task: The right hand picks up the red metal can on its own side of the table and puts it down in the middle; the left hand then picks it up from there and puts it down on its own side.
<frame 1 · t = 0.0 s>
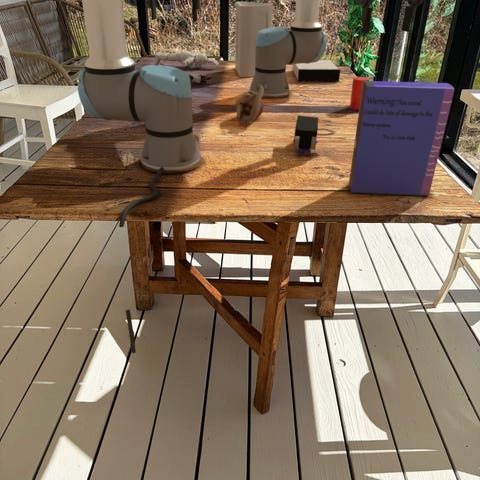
left hand: (174, 20, 152), 28 cm above the table, tool pointing down, fingers open, 13 cm apart
right hand: (385, 32, 136), 28 cm above the table, tool pointing down, fingers open, 13 cm apart
can: (357, 108, 170), on the table
brown lumpy shape: (248, 120, 155), on the table
figurine character: (304, 149, 133), on the table
figurine: (175, 84, 196), on the table
tall cream pillar: (253, 72, 218), on the table
toy: (187, 67, 226), on the table
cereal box: (387, 190, 111), on the table
disc drive: (314, 76, 213), on the table
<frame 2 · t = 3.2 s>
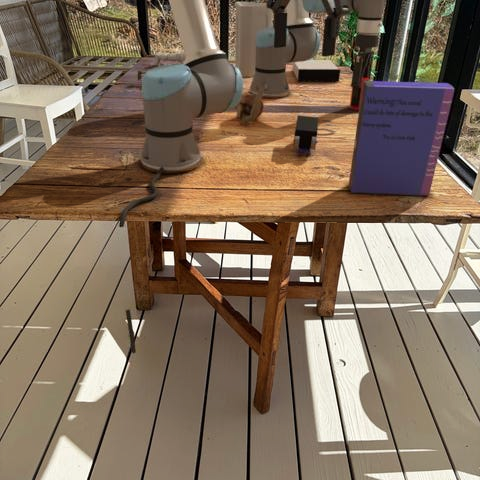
left hand: (302, 51, 96), 30 cm above the table, tool pointing down, fingers open, 13 cm apart
right hand: (357, 104, 169), 1 cm above the table, tool pointing down, fingers closed on can, 5 cm apart
can: (357, 108, 170), on the table, touching right hand
everything else where it was.
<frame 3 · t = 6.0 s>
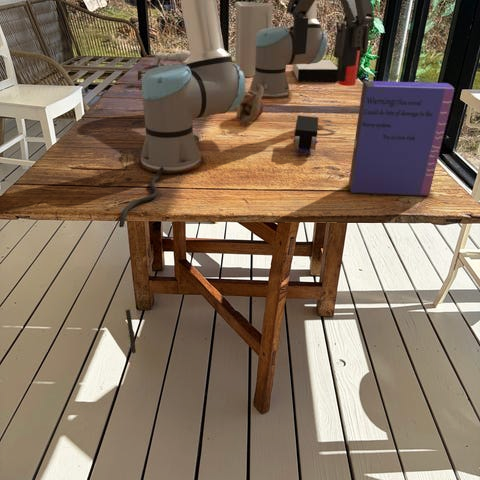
left hand: (322, 59, 90), 30 cm above the table, tool pointing down, fingers open, 13 cm apart
right hand: (347, 79, 153), 13 cm above the table, tool pointing down, fingers closed on can, 5 cm apart
can: (346, 83, 153), point 11 cm above the table, touching right hand
everything else where it was.
when the right hand's fingers open (3 cm above the table, at t = 8.8 s): can drops 1 cm, on the table.
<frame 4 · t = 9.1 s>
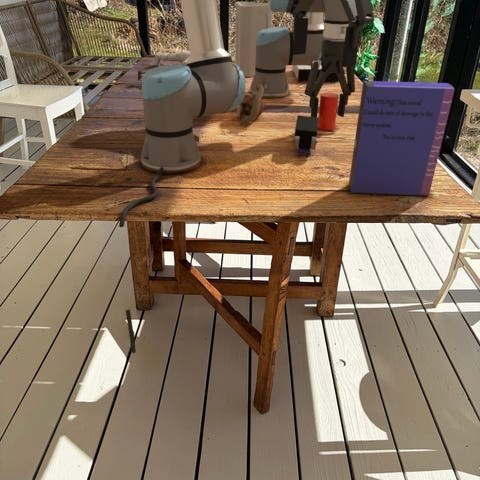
left hand: (322, 59, 90), 30 cm above the table, tool pointing down, fingers open, 13 cm apart
right hand: (327, 117, 148), 3 cm above the table, tool pointing down, fingers open, 9 cm apart
can: (326, 127, 150), on the table
everything else where it was.
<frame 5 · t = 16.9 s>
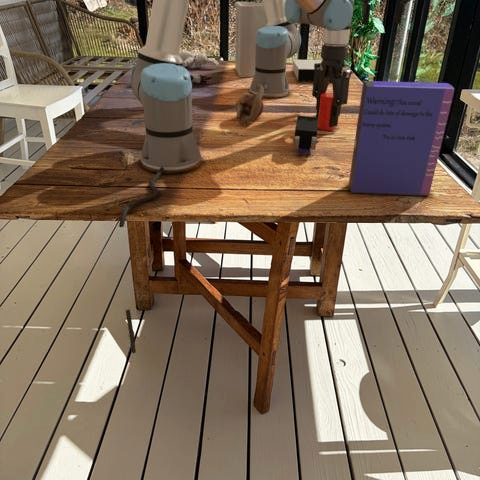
left hand: (326, 123, 149), 1 cm above the table, tool pointing down, fingers closed on can, 5 cm apart
right hand: (381, 24, 171), 26 cm above the table, tool pointing down, fingers open, 13 cm apart
can: (326, 127, 150), on the table, touching left hand
everything else where it was.
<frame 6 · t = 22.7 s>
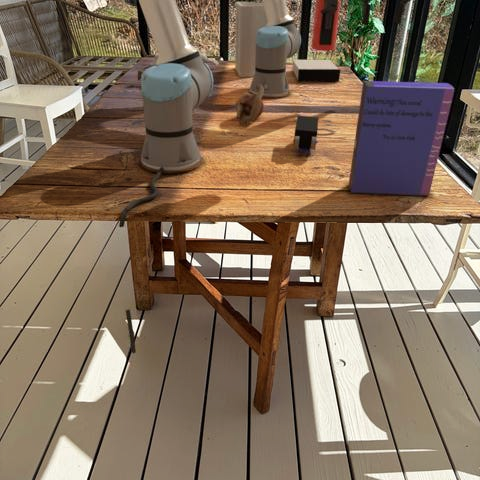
left hand: (323, 42, 112), 29 cm above the table, tool pointing down, fingers closed on can, 5 cm apart
right hand: (381, 24, 171), 26 cm above the table, tool pointing down, fingers open, 13 cm apart
can: (322, 48, 113), point 28 cm above the table, touching left hand
everything else where it was.
when the left hand's fingers open (3 cm above the table, at t = 28.7 s): can drops 1 cm, on the table.
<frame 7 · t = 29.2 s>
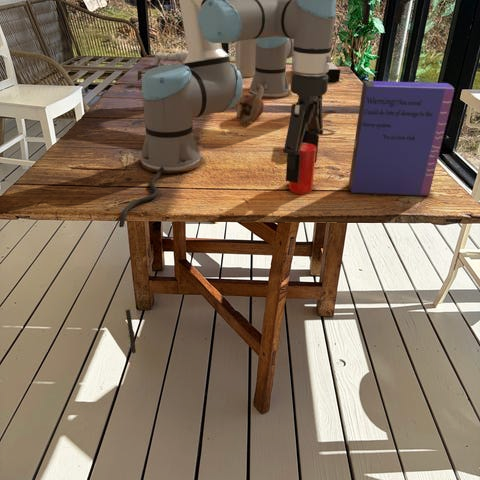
left hand: (301, 171, 108), 4 cm above the table, tool pointing down, fingers open, 12 cm apart
right hand: (381, 24, 171), 26 cm above the table, tool pointing down, fingers open, 13 cm apart
can: (300, 188, 111), on the table
everything else where it was.
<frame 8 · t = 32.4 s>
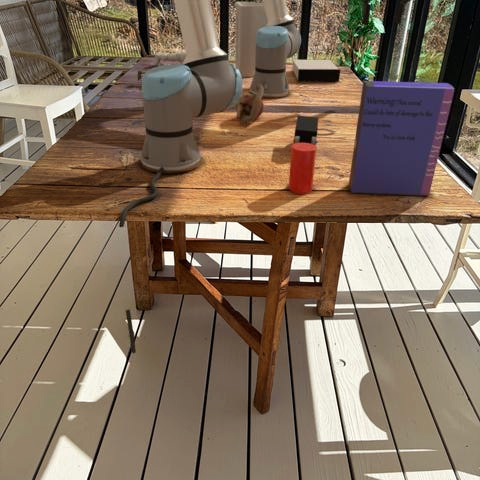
right hand: (381, 24, 171), 26 cm above the table, tool pointing down, fingers open, 13 cm apart
nothing on the table moved.
at the end: can inside the target area (0.0 cm from its centre), on the table; can tilted 0°; the two hands never held the can at the same time; the left hand is holding nothing; the right hand is holding nothing; can at rest at the end (0.0 cm/s) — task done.
